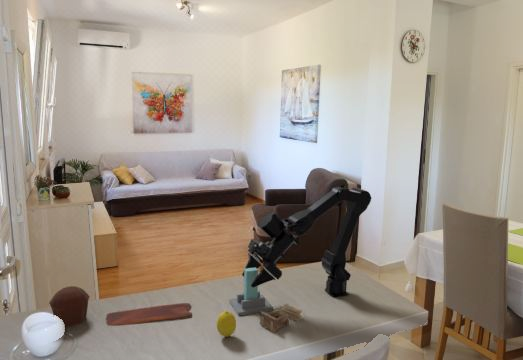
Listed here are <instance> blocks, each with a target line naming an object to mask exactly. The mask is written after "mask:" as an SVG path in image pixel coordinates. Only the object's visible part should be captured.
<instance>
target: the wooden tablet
mask: <svg viewBox="0 0 523 360" xmlns="http://www.w3.org/2000/svg"><path fill="white" fill-rule="evenodd" d="M191 309H192V305H191V303H189V302H184V303H172V304H164V305H156V306H148V307H143V308H141V307H140V308H136V309H135V308H134V309H128V310H127V309H126V310H122V311H120V310H119V311H115V312H109V313H107V314H106V317H105V324H106V325H107V326H111V327H113V326H114V327H119V326H121V327H122V326H126V325H135V324H143V323H149V322H160V321H170V320H182V319H187V318H192V317H193V313H192V312H191Z"/></svg>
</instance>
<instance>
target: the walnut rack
mask: <svg viewBox="0 0 523 360" xmlns="http://www.w3.org/2000/svg"><path fill="white" fill-rule="evenodd" d="M288 317H289V315H288V314H284V315H281V314H279V310H278V308H276V309H273V310H271V311H270V312H266V311H264V312H260V318H259V319H260V322H259V324H260V326H261V327H263V328H266V329H267V330H270V331H271V332H272V333H273V332H274V333H276V332H277V331H278V330H279V329H281V328H283V327H285V326H289V325H290V319H289V318H288Z"/></svg>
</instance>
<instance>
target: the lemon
mask: <svg viewBox="0 0 523 360" xmlns="http://www.w3.org/2000/svg"><path fill="white" fill-rule="evenodd" d="M236 327H237V320H236V317H235V315H234V314H233V313H232V312H231V311H228V310H226V311H223V312H221V313H220V314H219V315H218V317H217V321H216V328H217V331H218V334H220V336H222V337H223V336H224V337H225V338H228V337H230V336H231V335H233V334H234V333H235V331H236Z"/></svg>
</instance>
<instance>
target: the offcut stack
mask: <svg viewBox="0 0 523 360" xmlns="http://www.w3.org/2000/svg"><path fill="white" fill-rule="evenodd" d="M277 309H278V310H279V315H280V316H282V315H284V314H288V315H289V317H288V319H291V320H293V321H296V322H299V321H301V320H302V319H304V315H303V314H302V308H300V307H296V306H294V305H291V304H289V303H285V304H283V305H282V306H280V307H278V308H277Z"/></svg>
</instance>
